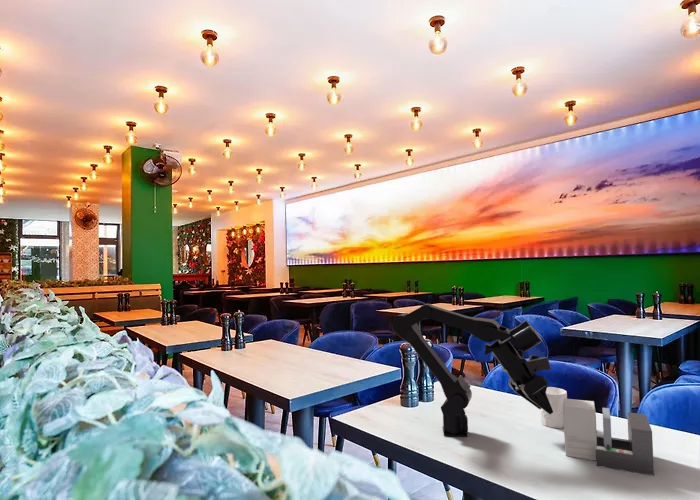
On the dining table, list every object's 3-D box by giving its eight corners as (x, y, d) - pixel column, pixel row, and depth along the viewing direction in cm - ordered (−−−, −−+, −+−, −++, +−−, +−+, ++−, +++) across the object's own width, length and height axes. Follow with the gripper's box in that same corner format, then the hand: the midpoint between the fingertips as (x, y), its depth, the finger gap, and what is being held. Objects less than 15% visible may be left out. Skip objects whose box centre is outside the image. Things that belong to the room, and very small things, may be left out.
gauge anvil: (596, 465, 105) (594, 423, 106) (595, 446, 116) (593, 408, 116) (654, 475, 100) (652, 431, 100) (647, 454, 111) (645, 414, 111)
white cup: (571, 429, 128) (570, 395, 128) (542, 428, 129) (541, 394, 130) (564, 420, 136) (562, 387, 136) (536, 418, 137) (535, 386, 137)
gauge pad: (605, 463, 105) (603, 420, 105) (604, 446, 114) (602, 407, 114) (612, 464, 104) (611, 421, 104) (610, 447, 113) (609, 408, 113)
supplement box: (597, 449, 114) (595, 400, 115) (597, 461, 108) (595, 409, 108) (565, 445, 118) (563, 397, 118) (564, 456, 111) (562, 405, 112)
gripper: (544, 344, 113) (584, 398, 109) (525, 344, 131) (559, 390, 128) (508, 368, 113) (547, 423, 109) (494, 364, 131) (527, 411, 127)
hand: (546, 410), depth 118 cm, fingers open, 9 cm apart
